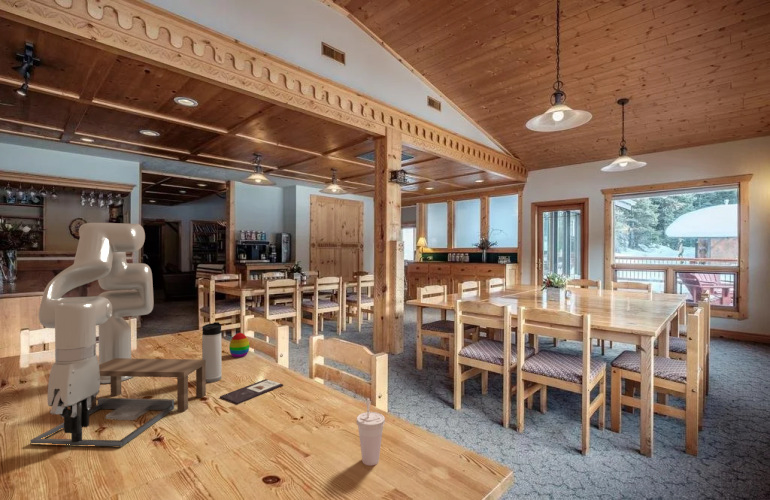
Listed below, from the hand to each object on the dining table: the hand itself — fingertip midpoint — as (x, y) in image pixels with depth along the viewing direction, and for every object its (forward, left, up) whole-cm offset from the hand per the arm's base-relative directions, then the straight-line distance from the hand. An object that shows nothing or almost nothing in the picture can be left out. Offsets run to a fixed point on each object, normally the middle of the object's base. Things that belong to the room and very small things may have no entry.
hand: (76, 428), depth 89 cm
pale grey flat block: (0, +16, -4) cm, 17 cm away
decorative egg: (+7, +74, -4) cm, 74 cm away
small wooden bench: (0, +25, -4) cm, 25 cm away
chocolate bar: (+29, +35, -5) cm, 46 cm away
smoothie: (+71, -3, -4) cm, 71 cm away
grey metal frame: (0, +10, -4) cm, 11 cm away
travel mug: (+10, +45, -4) cm, 46 cm away
